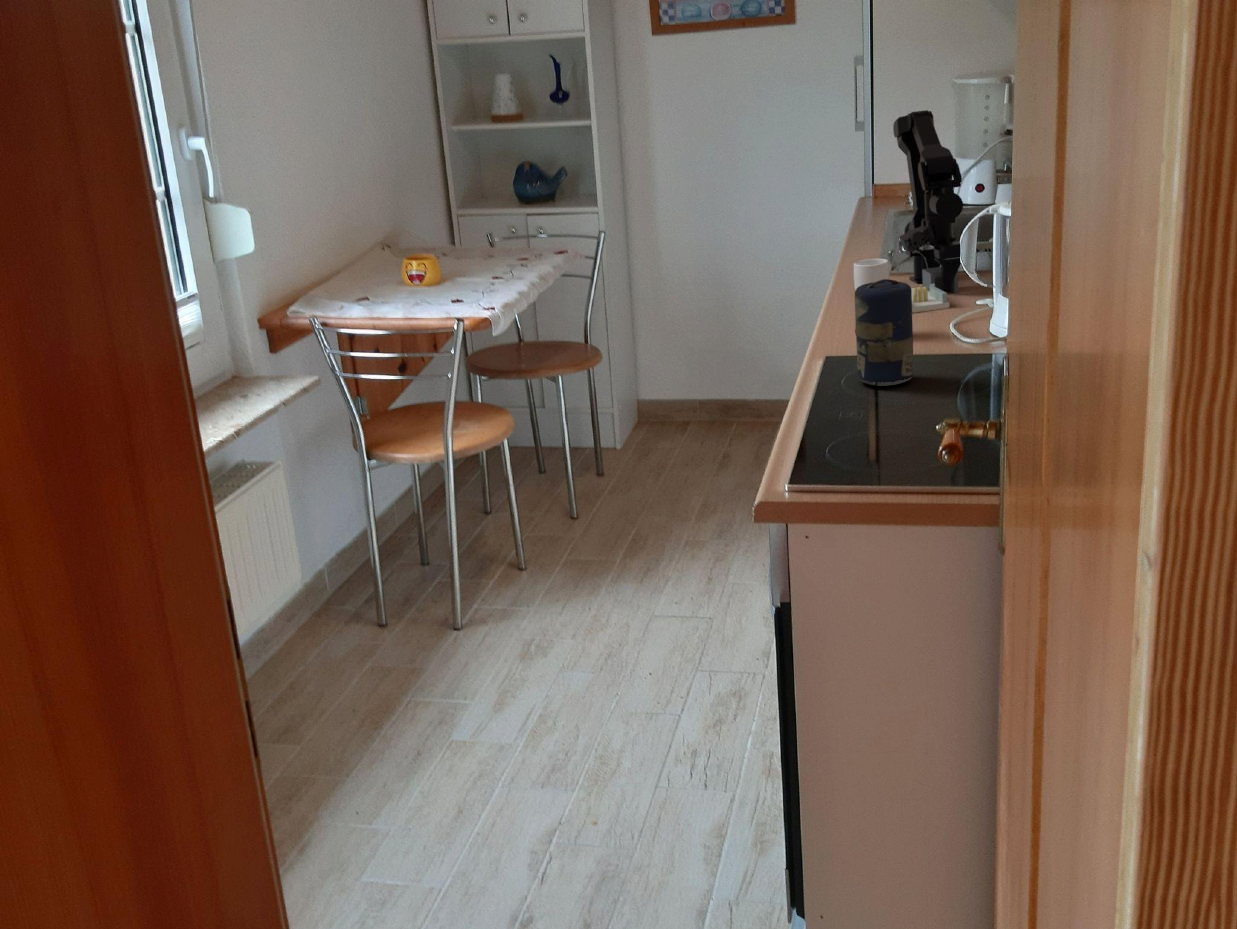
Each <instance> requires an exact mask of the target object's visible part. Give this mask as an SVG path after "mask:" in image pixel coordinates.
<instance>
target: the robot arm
mask: <svg viewBox="0 0 1237 929" xmlns="http://www.w3.org/2000/svg"><path fill="white" fill-rule="evenodd" d="M892 129H893V130H892V131H893V136H894V138H896V141H897V147H898V148H899V149H900V151H902V153H904V155H905V157H906V162H907V169H908V170H907V171H908V178H909V187H910V191H911V202H912V207H913V208H912V209H913V217H912V218H911V219H912V220H911V221H910V224H909V226H908V230H907V232H906V233H904V234H902V235H900V236H899V237H898V238H899V241H900V244H901V246H902V248H903V251H905V254H906V255H907V256H908V257H909V258H912V259H913V261H912V262H913V276H908V278H909V280H911V281H912V282H914V283H916V284H921V283H922V284H923V276H922V269H929V268H936V267H941V270H942V276H943V281H944V286H945V288H950V287H951V284H952V282H953V280H954V278H955V275H956V273H957V271H958V272H959V269H960V267H961V265H962V263H960V241H958V240H956V239H957V238H956V236H954V235H953V232H954V231H953V224H956V218H958V217H959V216H960V215H961V213H963V212H962V211H963V209H964V202H963V199H962V198H961V196H960V195H959V194H957V193H956V192H955V190H954V188H960V187H961V186H962V185H961V183H962V180H963V178H962V173H961V170H960V166H959V163H958V162H957V159H956V158H954V156H953V153H952V152H951V150H950V149H949V148H947V147H945V146H943V145H942V144H941V141H940V138H939V135H938V132H937V130H936V127H935V120H934V114H933V113H932V111H931V110H927V109H926V110H918V111H911V112H910V113H908V114H907V115H903V116H899V117H898V118H897V119H896V120H895V121H894V122H893V128H892Z"/></svg>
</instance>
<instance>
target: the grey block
mask: <svg viewBox="0 0 1237 929" xmlns="http://www.w3.org/2000/svg"><path fill="white" fill-rule="evenodd" d="M922 276H923V283H922V288H923V287H927V288H928V291H930V284H935V287H936V288H938V289H940V290H942V291H944V290H949V292H952V293H954V294H955V293H959V292H960V291H959V270H958V271H957V273H956V275H955V278H954V280H953V282H952V284H951V287H950V288H945V286H944V281H943V276H942V270H941V266H940V267H936V268H929V269H922Z"/></svg>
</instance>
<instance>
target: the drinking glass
mask: <svg viewBox="0 0 1237 929" xmlns="http://www.w3.org/2000/svg"><path fill="white" fill-rule="evenodd" d="M889 264H890V262H889V260H888V259H886V258H868V259H860V260H857V261H855V262H854V263H853V284H854V285H853V286H854V292H855V291H856V289H857V288H858V287H859V286H861V285H864V284H867V283H872V282H877V281H880V280H882V279H890V280H891V278H890V265H889Z"/></svg>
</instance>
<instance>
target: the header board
mask: <svg viewBox="0 0 1237 929" xmlns="http://www.w3.org/2000/svg"><path fill="white" fill-rule="evenodd" d="M911 290H912V314H913V313H922V312H928V311H935V310H936V311H937V310H943V309H944V310H945V309H950V302H949V301H948V293H947V292H946V291H944V290H940V289H938V288H936V287H935V284H930V291H928V288H927V287H923V286H918V287H911Z"/></svg>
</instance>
